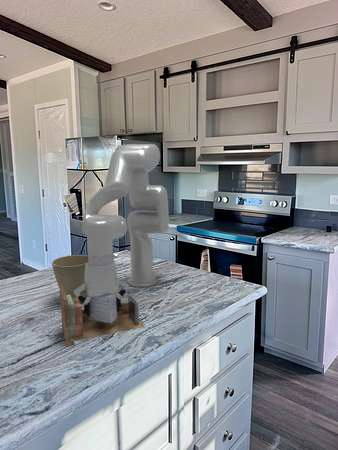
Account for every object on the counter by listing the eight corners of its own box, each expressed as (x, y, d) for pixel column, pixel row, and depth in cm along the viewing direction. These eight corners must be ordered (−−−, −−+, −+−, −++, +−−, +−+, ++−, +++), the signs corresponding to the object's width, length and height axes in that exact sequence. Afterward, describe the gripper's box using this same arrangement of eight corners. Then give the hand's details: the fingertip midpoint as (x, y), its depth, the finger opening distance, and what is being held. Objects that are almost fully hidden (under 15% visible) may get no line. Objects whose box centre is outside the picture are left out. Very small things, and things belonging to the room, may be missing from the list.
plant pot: (62, 292, 144) (59, 254, 141) (98, 292, 143) (96, 254, 140) (48, 308, 129) (45, 266, 126) (89, 308, 129) (86, 266, 126)
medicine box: (117, 318, 113) (116, 292, 111) (110, 324, 109) (109, 297, 107) (96, 314, 115) (94, 289, 114) (88, 320, 111) (87, 294, 110)
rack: (134, 315, 123) (132, 275, 120) (145, 330, 112) (144, 287, 109) (62, 328, 114) (59, 286, 111) (66, 346, 103) (63, 300, 100)
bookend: (131, 314, 120) (130, 295, 119) (138, 324, 113) (138, 304, 112) (128, 315, 120) (127, 295, 118) (135, 325, 112) (135, 304, 111)
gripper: (124, 253, 115) (126, 303, 118) (69, 259, 109) (73, 312, 112) (131, 259, 108) (132, 312, 111) (73, 265, 102) (76, 322, 105)
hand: (102, 312), depth 111 cm, fingers closed on medicine box, 8 cm apart
